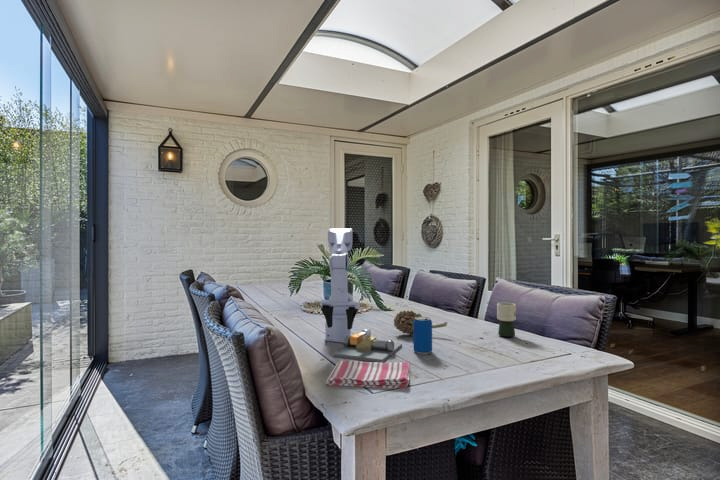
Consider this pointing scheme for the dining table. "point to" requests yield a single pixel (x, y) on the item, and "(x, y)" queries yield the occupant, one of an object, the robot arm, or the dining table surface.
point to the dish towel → (370, 374)
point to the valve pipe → (371, 344)
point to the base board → (366, 353)
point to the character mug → (506, 318)
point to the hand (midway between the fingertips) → (339, 328)
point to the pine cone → (409, 322)
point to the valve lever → (360, 336)
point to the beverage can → (422, 335)
